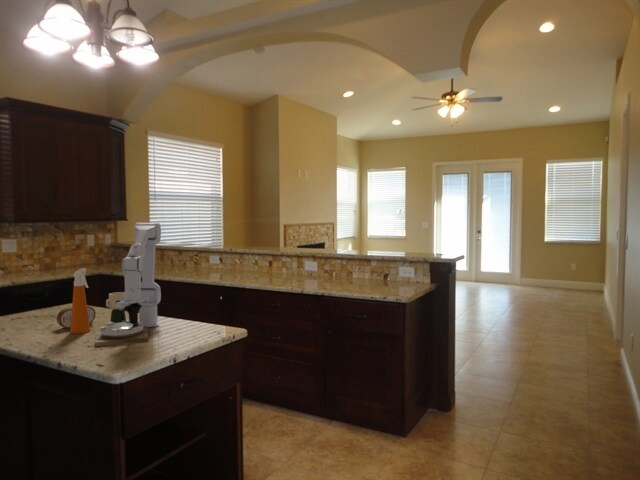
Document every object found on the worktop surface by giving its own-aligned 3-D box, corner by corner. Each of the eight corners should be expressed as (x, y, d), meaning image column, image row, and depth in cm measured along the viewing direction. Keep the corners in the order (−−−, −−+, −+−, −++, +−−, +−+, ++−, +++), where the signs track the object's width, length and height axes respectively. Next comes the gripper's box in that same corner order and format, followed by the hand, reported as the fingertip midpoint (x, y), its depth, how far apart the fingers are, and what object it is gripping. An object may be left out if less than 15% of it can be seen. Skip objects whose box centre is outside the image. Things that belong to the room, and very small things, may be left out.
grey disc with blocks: (93, 338, 168) (93, 319, 168) (111, 327, 183) (110, 310, 183) (134, 338, 169) (134, 319, 168) (148, 327, 184) (148, 310, 183)
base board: (98, 333, 181) (98, 329, 181) (146, 329, 188) (146, 325, 188) (95, 346, 165) (95, 342, 164) (148, 341, 171) (148, 336, 171)
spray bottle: (79, 336, 177) (77, 269, 175) (67, 331, 184) (65, 267, 182) (98, 332, 183) (96, 267, 181) (85, 328, 189) (83, 265, 188)
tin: (93, 322, 200) (93, 303, 199) (96, 323, 198) (96, 304, 197) (56, 329, 188) (56, 309, 188) (59, 330, 186) (59, 310, 186)
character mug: (111, 326, 192) (111, 296, 191) (101, 324, 196) (101, 294, 195) (134, 321, 201) (133, 292, 200) (124, 319, 205) (123, 290, 204)
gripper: (125, 291, 165) (126, 328, 166) (154, 286, 179) (155, 320, 179) (111, 290, 168) (112, 326, 169) (141, 284, 181) (141, 318, 182)
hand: (133, 323), depth 174 cm, fingers closed, pressing on grey disc with blocks
